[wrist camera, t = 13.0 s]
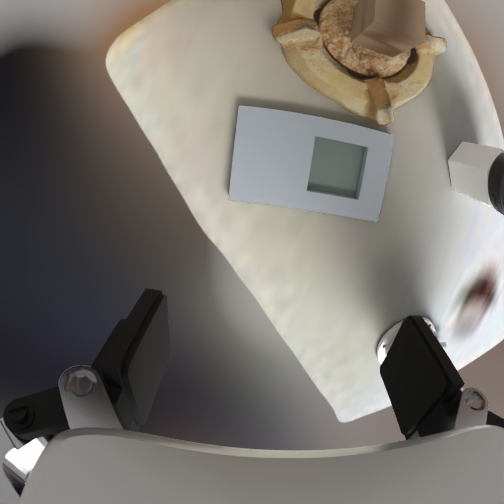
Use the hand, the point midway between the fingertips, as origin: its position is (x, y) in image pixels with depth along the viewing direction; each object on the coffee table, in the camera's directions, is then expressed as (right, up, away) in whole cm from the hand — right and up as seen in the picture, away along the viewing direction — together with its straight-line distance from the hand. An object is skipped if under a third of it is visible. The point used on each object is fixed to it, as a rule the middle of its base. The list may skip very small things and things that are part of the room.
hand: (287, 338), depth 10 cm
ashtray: (+14, +32, +17) cm, 38 cm away
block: (+13, +29, +13) cm, 34 cm away
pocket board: (+6, +15, +24) cm, 29 cm away
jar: (+32, +16, +23) cm, 42 cm away
